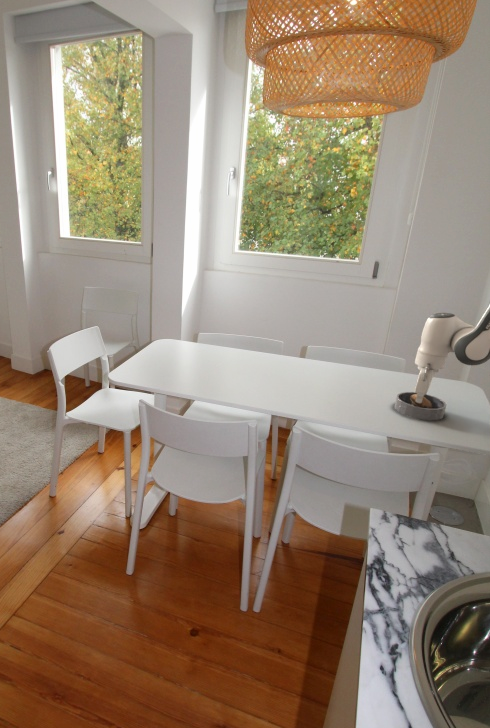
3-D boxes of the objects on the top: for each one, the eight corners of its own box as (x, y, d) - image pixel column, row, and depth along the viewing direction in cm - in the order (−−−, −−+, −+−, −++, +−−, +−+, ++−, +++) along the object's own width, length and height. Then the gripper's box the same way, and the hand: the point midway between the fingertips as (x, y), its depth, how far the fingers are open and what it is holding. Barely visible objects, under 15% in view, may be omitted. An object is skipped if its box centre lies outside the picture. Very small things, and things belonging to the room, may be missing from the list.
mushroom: (404, 404, 162) (418, 390, 161) (401, 403, 170) (413, 390, 168) (424, 419, 160) (438, 406, 159) (420, 418, 168) (433, 405, 166)
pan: (444, 410, 167) (447, 398, 165) (440, 425, 155) (444, 413, 154) (398, 399, 175) (400, 388, 173) (390, 413, 163) (393, 402, 162)
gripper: (437, 370, 149) (427, 410, 154) (443, 355, 164) (433, 391, 170) (415, 366, 152) (405, 405, 157) (423, 351, 168) (414, 387, 173)
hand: (420, 397), depth 164 cm, fingers open, 8 cm apart
